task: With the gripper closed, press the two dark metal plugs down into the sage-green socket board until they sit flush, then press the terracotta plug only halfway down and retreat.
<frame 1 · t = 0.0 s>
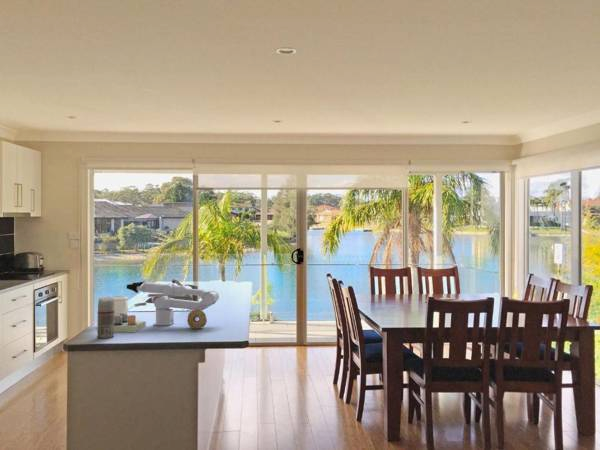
hand: (129, 285, 309), 22 cm above the countertop, tool horizontal, fingers open, 7 cm apart
jar: (118, 323, 310), on the countertop
grey plug b: (123, 317, 299), point 5 cm above the countertop, slide at 0.0 cm
mottled brown donut: (196, 329, 295), on the countertop
terracotta plug: (131, 320, 292), point 5 cm above the countertop, slide at 0.0 cm
grey plug a: (117, 320, 291), point 5 cm above the countertop, slide at 0.0 cm
spray can: (106, 337, 275), on the countertop
socket board: (127, 329, 294), on the countertop
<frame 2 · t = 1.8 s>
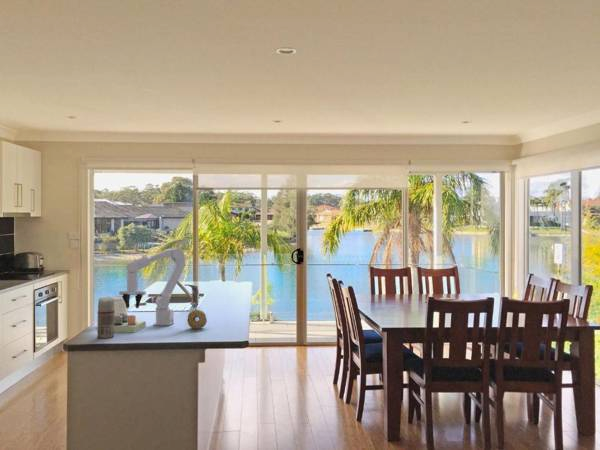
hand: (132, 307, 301), 10 cm above the countertop, tool pointing down, fingers open, 5 cm apart
nothing on the countertop moved.
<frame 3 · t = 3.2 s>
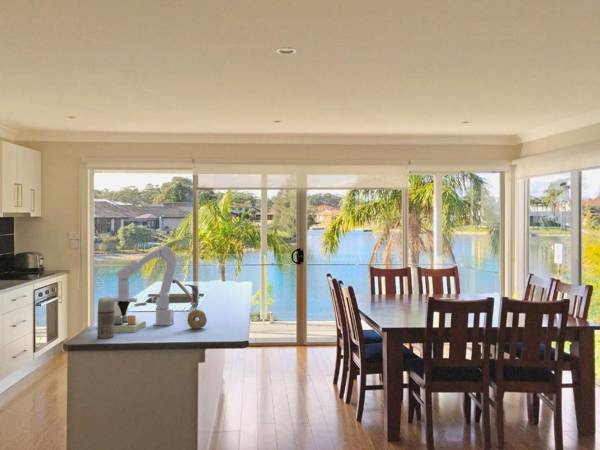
hand: (123, 315, 299), 7 cm above the countertop, tool pointing down, fingers closed, pressing on grey plug b
grey plug b: (123, 319, 299), point 5 cm above the countertop, slide at 0.7 cm, touching gripper
everything else where it was.
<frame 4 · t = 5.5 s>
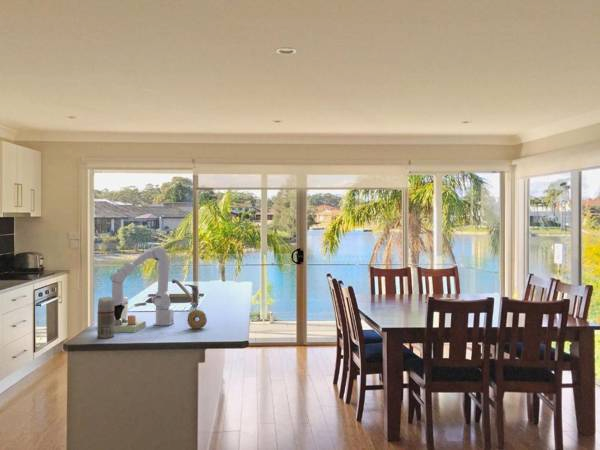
hand: (117, 319, 291), 6 cm above the countertop, tool pointing down, fingers closed, pressing on grey plug a
grey plug b: (123, 323, 299), point 2 cm above the countertop, slide at 2.9 cm
grey plug a: (117, 323, 291), point 4 cm above the countertop, slide at 1.7 cm, touching gripper
everything else where it was.
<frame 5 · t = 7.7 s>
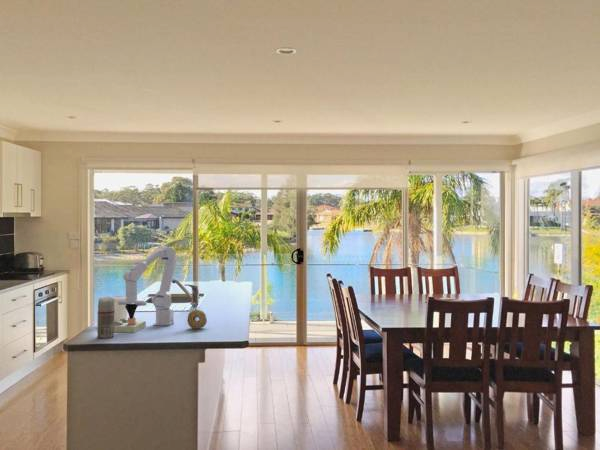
hand: (131, 318, 292), 6 cm above the countertop, tool pointing down, fingers closed, pressing on terracotta plug
terracotta plug: (131, 322, 292), point 4 cm above the countertop, slide at 1.2 cm, touching gripper
grey plug a: (117, 325, 291), point 2 cm above the countertop, slide at 2.9 cm
everything else where it was.
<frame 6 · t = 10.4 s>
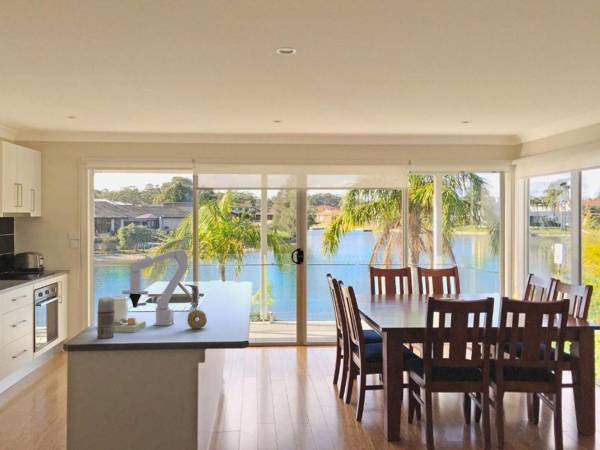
hand: (135, 307, 302), 10 cm above the countertop, tool pointing down, fingers closed
terracotta plug: (131, 322, 292), point 4 cm above the countertop, slide at 1.4 cm
everything else where it was.
at the end: grey plug b slide at 2.9 cm; grey plug a slide at 2.9 cm; terracotta plug slide at 1.4 cm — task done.
